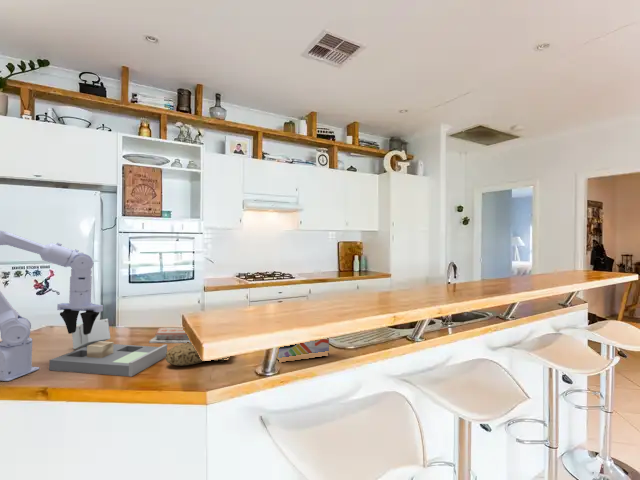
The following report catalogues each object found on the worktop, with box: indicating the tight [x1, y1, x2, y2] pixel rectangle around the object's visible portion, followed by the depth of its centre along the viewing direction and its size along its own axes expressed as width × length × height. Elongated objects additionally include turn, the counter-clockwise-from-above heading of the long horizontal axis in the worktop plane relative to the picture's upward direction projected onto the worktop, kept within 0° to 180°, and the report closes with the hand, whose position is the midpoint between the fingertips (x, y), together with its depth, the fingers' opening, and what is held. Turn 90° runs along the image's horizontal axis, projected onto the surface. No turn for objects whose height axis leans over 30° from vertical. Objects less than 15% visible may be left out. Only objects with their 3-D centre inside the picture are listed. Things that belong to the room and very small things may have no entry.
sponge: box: [165, 343, 231, 366], centre depth 114 cm, size 13×8×20 cm
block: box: [87, 341, 115, 358], centre depth 110 cm, size 5×5×4 cm
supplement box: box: [71, 318, 111, 350], centre depth 123 cm, size 7×7×13 cm
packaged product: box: [148, 327, 192, 344], centre depth 138 cm, size 18×5×10 cm
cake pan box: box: [278, 337, 330, 358], centre depth 119 cm, size 19×5×18 cm, turn 112°
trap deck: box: [48, 343, 168, 377], centre depth 111 cm, size 18×27×4 cm, turn 83°
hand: (79, 333), depth 111 cm, fingers open, 5 cm apart
